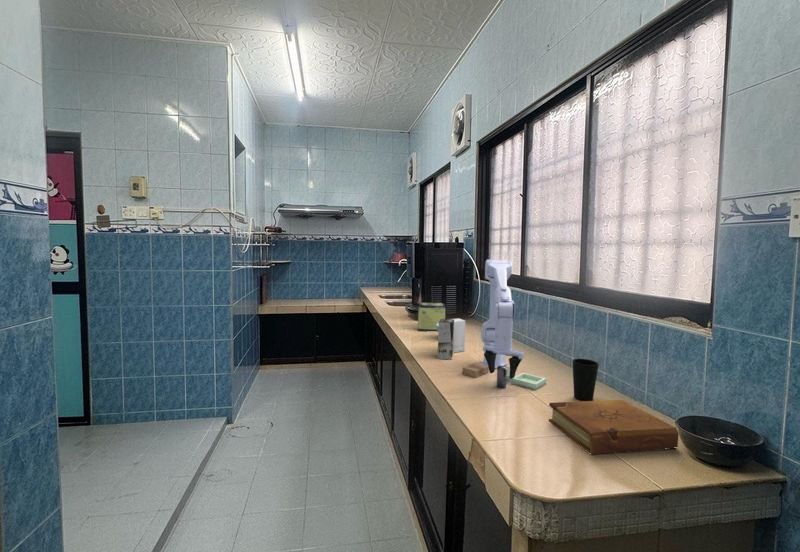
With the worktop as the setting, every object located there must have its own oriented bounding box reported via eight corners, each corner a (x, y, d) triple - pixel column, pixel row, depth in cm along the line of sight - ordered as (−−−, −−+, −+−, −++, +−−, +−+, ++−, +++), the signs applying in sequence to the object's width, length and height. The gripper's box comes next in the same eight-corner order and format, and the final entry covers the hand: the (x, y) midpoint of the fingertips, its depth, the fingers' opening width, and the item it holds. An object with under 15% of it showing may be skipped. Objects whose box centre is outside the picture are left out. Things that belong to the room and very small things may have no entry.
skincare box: (457, 348, 187) (458, 318, 186) (465, 351, 181) (466, 320, 180) (443, 350, 183) (444, 319, 182) (450, 353, 178) (451, 321, 177)
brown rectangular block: (475, 370, 154) (475, 362, 154) (488, 373, 150) (488, 366, 150) (462, 375, 148) (462, 367, 148) (475, 379, 144) (476, 371, 144)
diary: (591, 458, 90) (592, 434, 90) (548, 422, 109) (549, 402, 108) (677, 451, 94) (678, 428, 94) (621, 418, 113) (622, 398, 112)
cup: (585, 404, 121) (588, 366, 121) (565, 395, 128) (567, 360, 127) (601, 400, 125) (603, 363, 124) (580, 392, 132) (583, 357, 131)
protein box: (445, 332, 224) (446, 305, 223) (418, 331, 224) (418, 304, 223) (443, 328, 234) (444, 303, 233) (417, 327, 234) (418, 302, 233)
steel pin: (499, 384, 137) (500, 365, 137) (507, 386, 135) (508, 367, 135) (494, 386, 135) (495, 366, 135) (503, 389, 133) (504, 369, 132)
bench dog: (504, 379, 143) (504, 366, 143) (511, 381, 141) (512, 367, 141) (499, 381, 140) (499, 368, 140) (506, 383, 138) (507, 370, 138)
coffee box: (452, 360, 167) (453, 322, 166) (437, 358, 168) (438, 321, 167) (453, 354, 176) (454, 319, 175) (439, 353, 177) (440, 318, 176)
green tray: (522, 377, 145) (522, 372, 145) (546, 383, 139) (546, 378, 139) (511, 383, 139) (511, 378, 138) (535, 390, 133) (536, 384, 132)
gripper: (479, 334, 136) (477, 372, 137) (518, 341, 126) (516, 382, 127) (489, 331, 141) (487, 368, 142) (527, 338, 131) (525, 378, 132)
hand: (501, 375), depth 135 cm, fingers open, 7 cm apart
